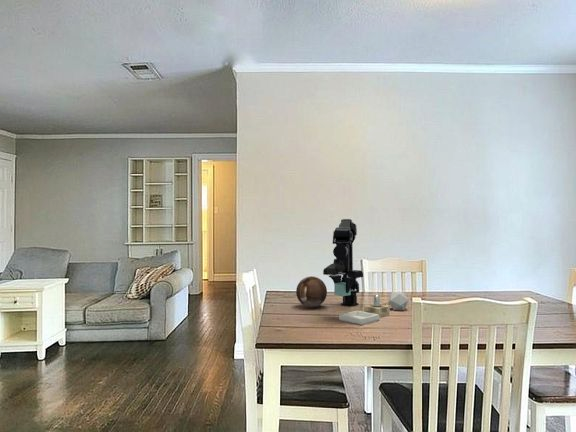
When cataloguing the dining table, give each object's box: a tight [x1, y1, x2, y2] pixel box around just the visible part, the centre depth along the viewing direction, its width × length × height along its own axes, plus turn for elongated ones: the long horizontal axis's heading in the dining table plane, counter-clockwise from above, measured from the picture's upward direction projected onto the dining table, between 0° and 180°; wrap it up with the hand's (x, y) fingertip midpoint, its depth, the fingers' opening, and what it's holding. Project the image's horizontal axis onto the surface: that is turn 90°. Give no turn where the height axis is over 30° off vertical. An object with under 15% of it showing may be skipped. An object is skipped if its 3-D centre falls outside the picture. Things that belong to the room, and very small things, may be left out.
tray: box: [338, 310, 380, 326], centre depth 201 cm, size 12×12×2 cm
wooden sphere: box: [295, 276, 328, 308], centre depth 230 cm, size 15×15×15 cm
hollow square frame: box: [363, 303, 390, 319], centre depth 212 cm, size 8×8×4 cm
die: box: [387, 291, 409, 311], centre depth 223 cm, size 8×9×10 cm
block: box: [333, 282, 351, 297], centre depth 206 cm, size 5×5×5 cm
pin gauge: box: [373, 294, 381, 307], centre depth 212 cm, size 3×3×9 cm
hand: (342, 292), depth 206 cm, fingers closed on block, 5 cm apart
